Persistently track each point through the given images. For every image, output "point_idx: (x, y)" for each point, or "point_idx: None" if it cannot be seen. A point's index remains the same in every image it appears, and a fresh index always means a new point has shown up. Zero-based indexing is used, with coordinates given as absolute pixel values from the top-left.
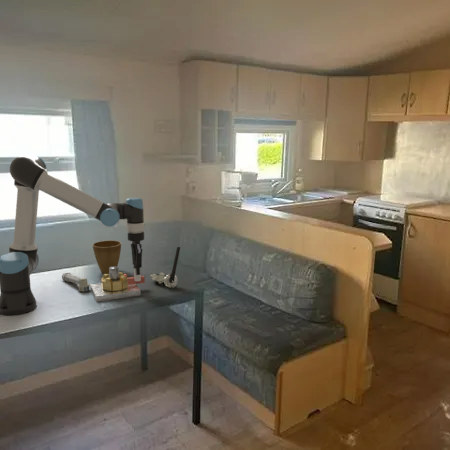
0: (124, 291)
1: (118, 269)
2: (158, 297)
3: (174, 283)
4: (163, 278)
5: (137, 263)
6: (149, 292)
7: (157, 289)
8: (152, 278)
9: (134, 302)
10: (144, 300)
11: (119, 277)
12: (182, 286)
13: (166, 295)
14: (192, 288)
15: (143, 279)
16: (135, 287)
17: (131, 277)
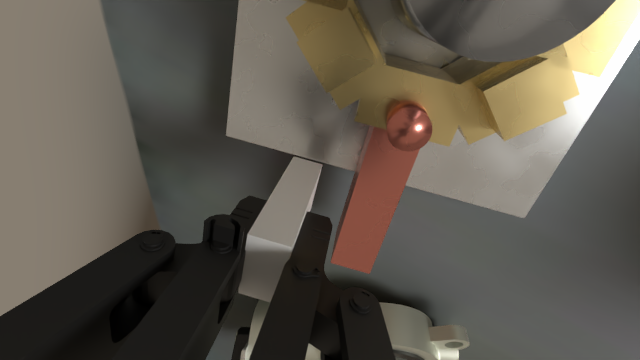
0: (262, 8)
1: (421, 26)
2: (157, 184)
3: None
4: None
5: (70, 287)
6: (265, 192)
7: None
8: (395, 311)
9: (126, 14)
10: (139, 93)
11: (481, 69)
12: None
13: (170, 230)
14: (209, 352)
15: (335, 241)
16: (306, 137)
17: (393, 177)
